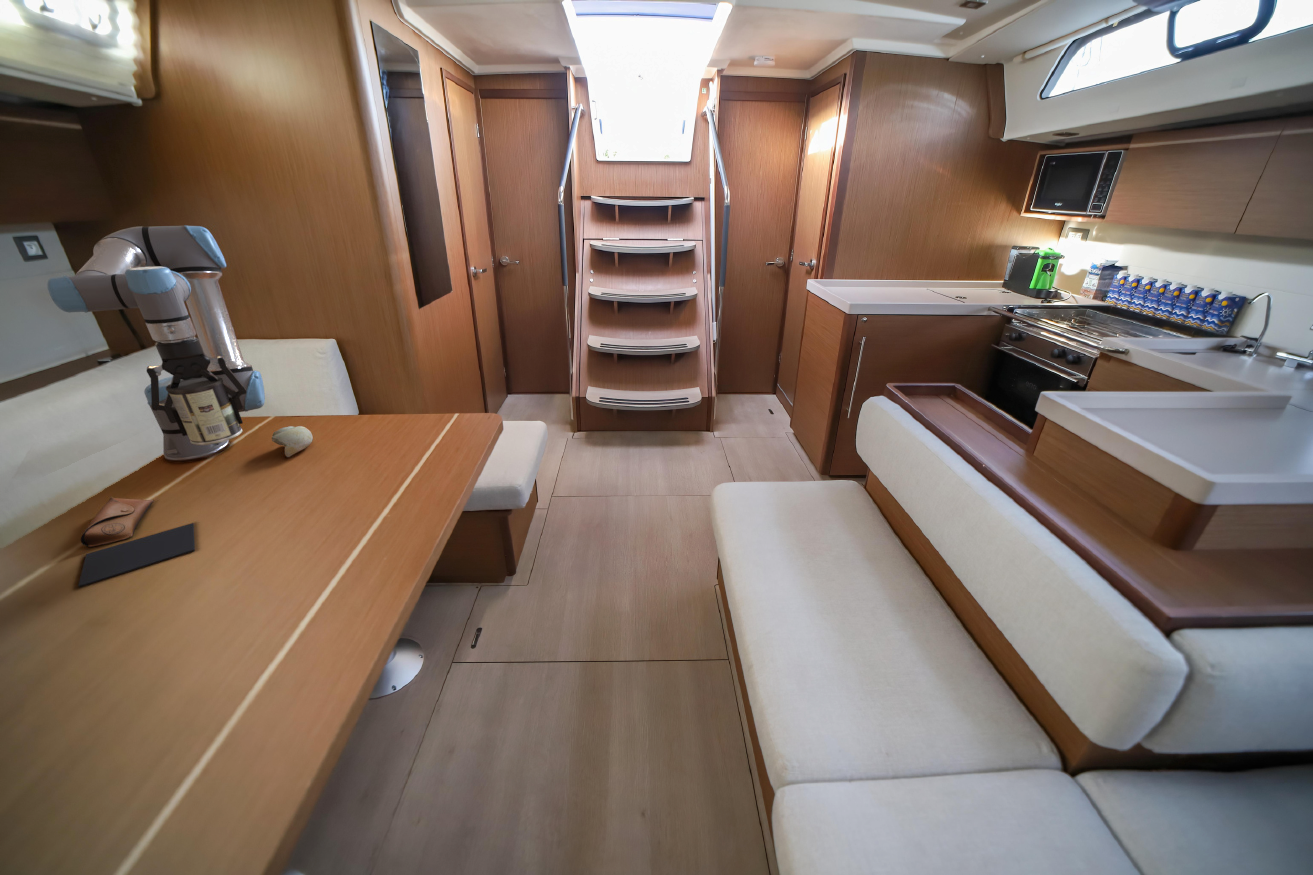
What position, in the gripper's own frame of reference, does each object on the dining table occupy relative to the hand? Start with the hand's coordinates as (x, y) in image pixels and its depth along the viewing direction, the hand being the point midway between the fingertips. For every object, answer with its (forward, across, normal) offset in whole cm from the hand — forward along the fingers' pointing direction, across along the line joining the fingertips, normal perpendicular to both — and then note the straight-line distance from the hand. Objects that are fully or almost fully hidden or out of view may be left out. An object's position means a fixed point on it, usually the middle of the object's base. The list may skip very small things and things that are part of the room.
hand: (213, 427), depth 123 cm
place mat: (+20, -19, -14) cm, 31 cm away
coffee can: (+2, 0, 0) cm, 2 cm away
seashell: (+20, +15, +22) cm, 34 cm away
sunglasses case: (+20, -23, +4) cm, 31 cm away
